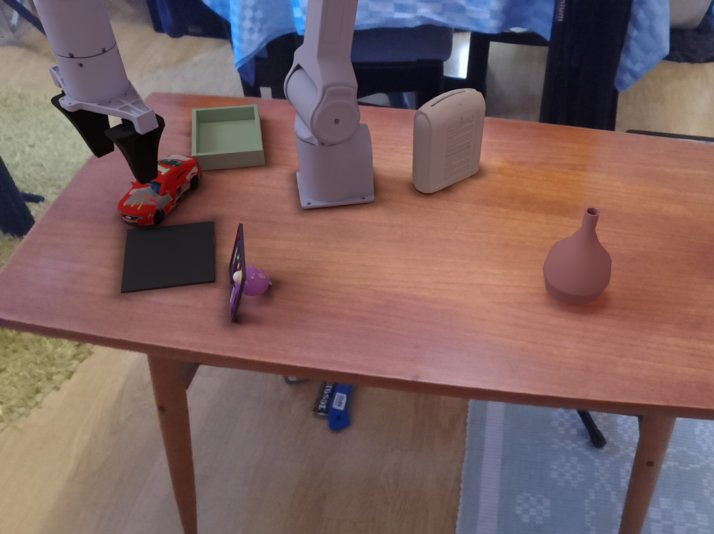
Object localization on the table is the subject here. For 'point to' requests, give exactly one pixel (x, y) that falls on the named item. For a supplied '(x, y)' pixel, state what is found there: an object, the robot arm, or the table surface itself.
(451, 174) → the photo printer
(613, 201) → the table surface
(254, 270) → the purple finned figure
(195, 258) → the charcoal mat
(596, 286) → the brown bulb vase
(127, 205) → the race car
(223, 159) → the sage tray
